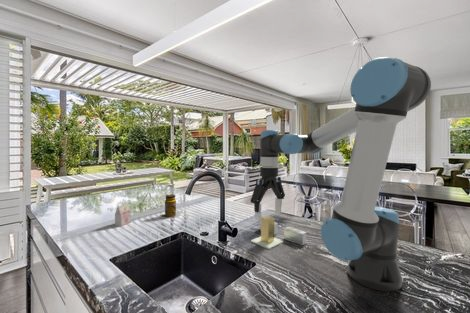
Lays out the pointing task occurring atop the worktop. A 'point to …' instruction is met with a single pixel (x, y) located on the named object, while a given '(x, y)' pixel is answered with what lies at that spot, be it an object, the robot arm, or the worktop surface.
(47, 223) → the worktop surface
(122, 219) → the milk carton
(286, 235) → the rack rail
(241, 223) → the worktop surface
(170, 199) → the condiment
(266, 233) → the brass block
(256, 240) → the sage pad
